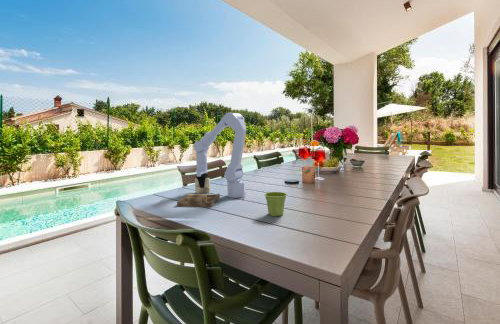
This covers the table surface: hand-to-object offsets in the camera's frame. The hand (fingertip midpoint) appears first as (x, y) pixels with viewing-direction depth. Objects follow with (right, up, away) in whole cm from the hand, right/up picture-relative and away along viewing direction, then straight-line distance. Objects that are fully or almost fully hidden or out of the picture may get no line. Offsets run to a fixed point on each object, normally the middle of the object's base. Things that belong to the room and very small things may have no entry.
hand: (202, 187), depth 157 cm
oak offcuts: (+1, -6, -25) cm, 25 cm away
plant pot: (+37, -8, -38) cm, 54 cm away
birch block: (0, -4, 0) cm, 4 cm away
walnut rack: (+2, -6, -20) cm, 21 cm away
